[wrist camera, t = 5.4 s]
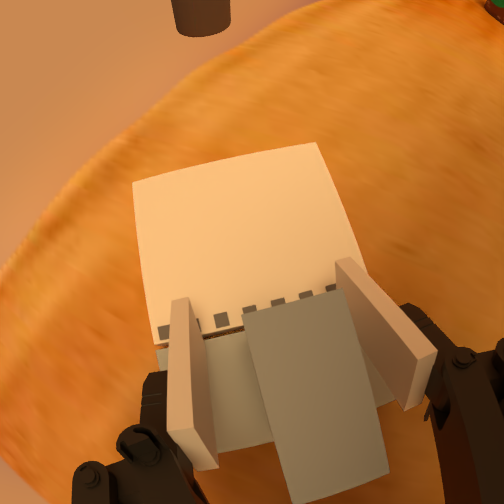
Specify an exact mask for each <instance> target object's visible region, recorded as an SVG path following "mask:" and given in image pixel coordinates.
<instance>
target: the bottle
mask: <svg viewBox="0 0 504 504" xmlns="http://www.w3.org/2000/svg"><path fill="white" fill-rule="evenodd" d="M171 2H172V8H173V13H174V18H175V23H176V28H177V30H178V32H179V33H180V34H182V35H184V36H188V37H204V36H210V35H214V34H217V33H220V32H222V31H224V30H225V29H226V28H228V27H229V25H230V21H231V17H230V0H171Z"/></svg>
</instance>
